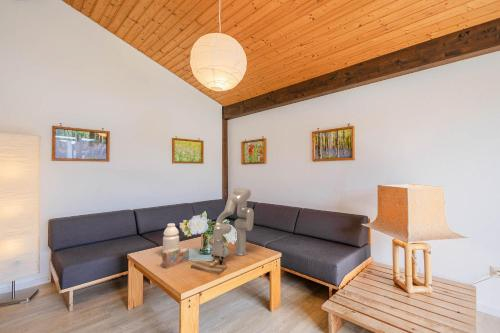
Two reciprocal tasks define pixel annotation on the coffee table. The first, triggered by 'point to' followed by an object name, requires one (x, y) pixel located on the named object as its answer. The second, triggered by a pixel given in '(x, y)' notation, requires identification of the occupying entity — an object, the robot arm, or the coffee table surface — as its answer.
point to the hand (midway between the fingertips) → (218, 263)
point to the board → (208, 267)
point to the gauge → (216, 261)
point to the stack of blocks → (174, 257)
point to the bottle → (170, 237)
